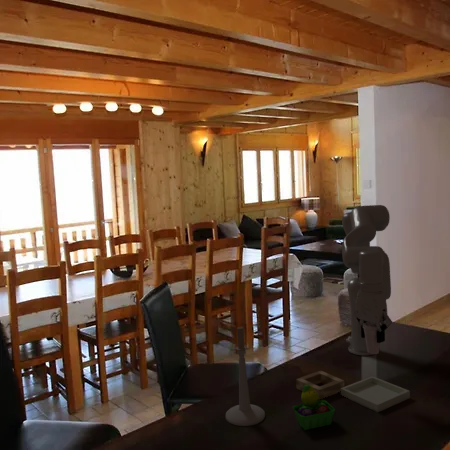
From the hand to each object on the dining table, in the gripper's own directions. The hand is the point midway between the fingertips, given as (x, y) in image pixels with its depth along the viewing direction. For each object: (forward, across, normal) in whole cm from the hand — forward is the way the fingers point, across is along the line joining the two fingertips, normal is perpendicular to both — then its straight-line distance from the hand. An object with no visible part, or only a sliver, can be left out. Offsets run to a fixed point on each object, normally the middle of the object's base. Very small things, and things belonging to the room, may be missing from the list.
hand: (372, 338), depth 167 cm
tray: (+20, 0, 0) cm, 20 cm away
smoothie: (+5, 0, 0) cm, 5 cm away
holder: (+20, -16, -10) cm, 28 cm away
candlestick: (+20, -17, -42) cm, 50 cm away
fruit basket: (+21, 0, -28) cm, 35 cm away
